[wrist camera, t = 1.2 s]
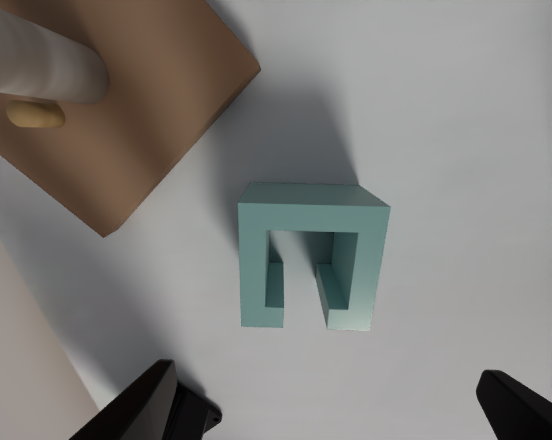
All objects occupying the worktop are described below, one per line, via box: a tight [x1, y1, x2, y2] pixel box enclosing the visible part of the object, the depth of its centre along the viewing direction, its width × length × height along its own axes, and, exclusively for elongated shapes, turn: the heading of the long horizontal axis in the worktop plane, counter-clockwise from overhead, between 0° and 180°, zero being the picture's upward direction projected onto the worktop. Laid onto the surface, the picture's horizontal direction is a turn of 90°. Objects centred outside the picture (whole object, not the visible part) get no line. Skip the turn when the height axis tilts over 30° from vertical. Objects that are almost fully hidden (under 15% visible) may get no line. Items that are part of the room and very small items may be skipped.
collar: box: [238, 183, 391, 331], centre depth 15 cm, size 7×7×5 cm
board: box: [0, 0, 261, 238], centre depth 11 cm, size 14×12×8 cm
